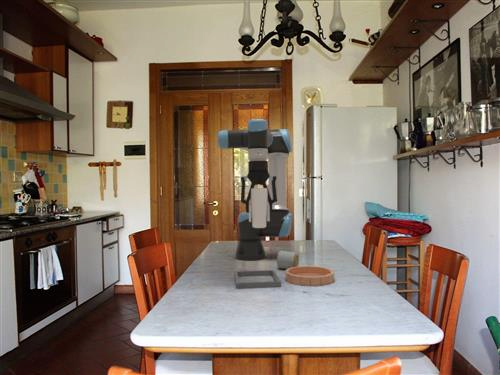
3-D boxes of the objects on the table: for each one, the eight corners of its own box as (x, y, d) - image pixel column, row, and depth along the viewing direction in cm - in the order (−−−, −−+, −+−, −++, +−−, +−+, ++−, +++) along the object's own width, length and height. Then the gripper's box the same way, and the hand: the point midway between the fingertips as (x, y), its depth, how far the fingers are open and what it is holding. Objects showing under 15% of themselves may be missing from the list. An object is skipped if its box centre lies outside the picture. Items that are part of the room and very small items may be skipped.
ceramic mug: (295, 271, 156) (295, 253, 156) (276, 270, 159) (276, 252, 159) (301, 266, 166) (301, 249, 166) (283, 265, 169) (283, 248, 169)
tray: (234, 275, 150) (234, 271, 150) (274, 274, 151) (274, 270, 151) (236, 288, 132) (236, 283, 132) (281, 286, 133) (281, 281, 133)
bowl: (282, 274, 152) (282, 266, 152) (326, 272, 153) (326, 265, 153) (290, 286, 133) (290, 278, 133) (340, 284, 135) (340, 276, 135)
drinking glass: (249, 226, 145) (249, 188, 145) (267, 226, 145) (266, 187, 145) (251, 228, 138) (250, 188, 138) (269, 228, 138) (268, 188, 138)
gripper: (232, 160, 137) (234, 222, 137) (284, 159, 138) (285, 221, 138) (232, 161, 144) (233, 220, 145) (281, 160, 146) (282, 219, 146)
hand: (259, 221), depth 142 cm, fingers closed on drinking glass, 6 cm apart
